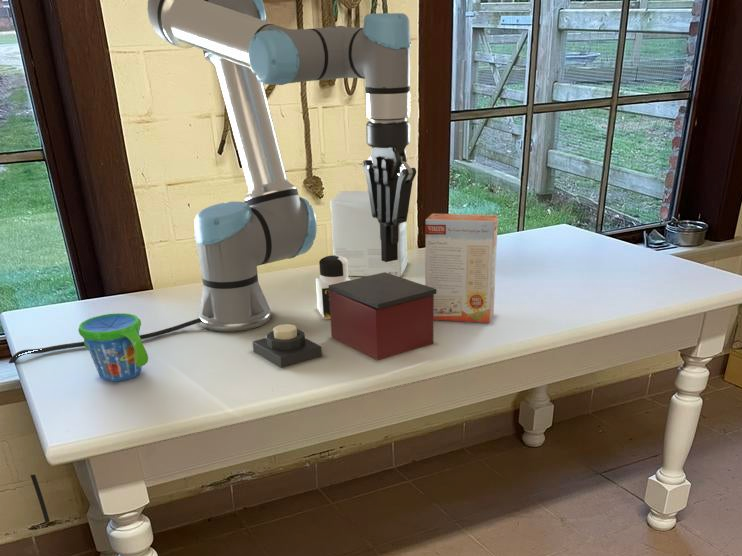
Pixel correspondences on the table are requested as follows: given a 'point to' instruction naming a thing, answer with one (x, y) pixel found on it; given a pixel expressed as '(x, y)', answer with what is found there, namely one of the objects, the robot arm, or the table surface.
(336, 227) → the supplement box
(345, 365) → the table surface
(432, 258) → the cracker box
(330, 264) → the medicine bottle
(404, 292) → the dark grey lid
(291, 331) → the button
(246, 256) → the robot arm
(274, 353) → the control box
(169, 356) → the table surface
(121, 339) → the snack cup
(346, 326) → the dark red box
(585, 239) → the table surface
